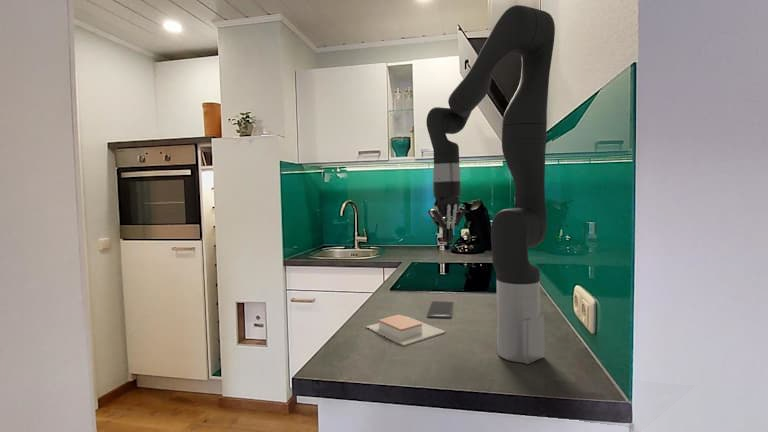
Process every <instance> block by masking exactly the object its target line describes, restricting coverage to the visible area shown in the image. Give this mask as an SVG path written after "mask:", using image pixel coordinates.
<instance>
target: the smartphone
mask: <svg viewBox="0 0 768 432" xmlns="http://www.w3.org/2000/svg"><path fill="white" fill-rule="evenodd" d="M453 308H454V302H453V301H441V300H440V301H437V300H435V301H434V300H433V301H431V303H430V305H429V308H428V311H427V314H426V317H427V318H431V319H432V318H435V319H436V318H437V319H451V318H452V316H453V314H452V313H453Z"/></svg>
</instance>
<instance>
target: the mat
mask: <svg viewBox="0 0 768 432" xmlns="http://www.w3.org/2000/svg"><path fill="white" fill-rule="evenodd" d="M403 316H404V317H407V318H409V319H412V320H414V321H417V322H420V323H422V333H420V334H417V335H413V336H410V337H407V338H404V339H400V338H398V337H396V336H393V335H391V334H389V333H387V332H385V331H383V330H381V329H379V322H378V323H374V324H370V325H367V326H365V327H367V328H366V329H368V328H369V329H368V330H369V331H370V330H371V331H372V332H375V334H378V335H380V336H382V337H384V336H385V337H384V338H386V339H389V340H391V341H392V342H394V343H396V344H398V345H401V346H403V347H405V346H408V345H411V344H412V345H413V344H415V343H417V342H421V341H423V340H424V341H425V340H427V339H430V338H434V337H437V336H439V335H442V334H446V330H443V329H441V328H437V327H435V326H433V325H430V324H427V323H425V322H422V321H419V320H417V319H414V318H413V317H409V316H407V315H403Z"/></svg>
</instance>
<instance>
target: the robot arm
mask: <svg viewBox="0 0 768 432" xmlns="http://www.w3.org/2000/svg"><path fill="white" fill-rule="evenodd" d="M555 26H556V25H555V21H554V18H553V16H552V15H551V14H550V13H549V12H547V11H545V10H541V9H538V8H536V7H535V8H534V7H530V6H527V5H519V4H516V5H511V6H510V7H509V8H507V9H506V10H505V11H504V12H503V13H502V15H501V16H500V17H499V19H498V20H497V22H496V23H495V25H494V27H493V28H492V30H491V31H490V34H489V36H488V37H487V39H486V41H485V43H484V44H483V46H482V48H481V49H480V51H479V54H478V55H477V56H476V59H475V60H474V62H473V64H472V66H471V67H470V69H469V71H468V72H467V74H466V75H465V76H464V78H462V80H461V81H460V83H459V84H458V85H457V86H456V87H455V88H454V90H452V92H451V93H450V95H449V97H448V106H449V107H444V106H436V107H435V106H434V107H432V108H431V109H430V110H429V111H428V114H427V115H426V116H427V117H426V129H427V131H428V135H429V138H430V142H431V146H432V149H433V170H432V175H433V176H432V178H433V179H432V181H433V182H432V185H433V187H432V188H433V192H432V193H433V197H434V198H435V201H434V204H433V205H434V207H432V209H428V211H427V214H428V215H429V217H430V218H431V220H432V222H433V223H434V225H435V226H436V228H441V230H442V234H441V236H442V241H443V242H444V243H452V242H453V241H454V229H455V227H459V225H460V223H461V222H462V219H463V217H464V215H465V213H466V210H467V209H466V207H463V206H461V202H460V199H459V198H460V197H461V195H462V194H461V191H462V190H461V185H462V184H461V182H462V181H461V167H460V147H459V144H458V143H456V142H454V141H451V140H449V138H448V137H447V134H449V135H454V134H455V135H456V134H458V133H459V132H461V131H462V130H463V129H464V128H465V126H466V125H467V122H468V120H469V117H470V115H471V114H472V111H474V109H475V108H477V106H478V105H479V104H480V103H481V102H482V101H483V100H484V99H485V97H486V96H487V94H488V93H489V90H490V88H491V84H492V78H493V73H494V71H495V68H496V67H497V66H498V64H499V63H500V62H502V60H503V59H504V58H506V57H507V56H508V55H509V54H510V55H511V54H512V55H516V56H520V57H521V71H520V80H519V83H518V84H519V85H518V87H517V90H516V91H515V93H514V94H513V97H512V98H511V99H510V101H509V104H508V105H507V107H506V109H505V111H504V114H503V117H502V121H501V122H502V124H501V126H502V127H501V151H502V154H503V158H504V160H505V163H506V165H507V168H508V170H509V172H510V174H511V177H512V180H513V184H514V207H513V208H505V209H502V210H500V211H498V212H497V213H496V214H495V215H494V217H493V219H492V222H491V228H490V243H491V258H492V266H493V267H494V270H495V273H496V276H495V277H496V335H497V336H496V338H497V339H496V340H497V345H496V346H497V349H496V350H497V354H498V356H500V358H503V359H504V360H507V361H511V362H514V363H523V364H526V365H529V364H532V363H534V362H535V361H536V362H537V361H538V360H540V359H543V358H545V316H544V315H543V314H541V283H540V282H541V281H540V280H541V278H540V277H541V274H540V273H541V272H540V269H539V267H538V266H537V265H533V264H531V262H530V260H529V253H528V249H531V248H536V247H537V246H539V245H540V244H541V243H543V240H544V239H545V237H546V234H547V229H548V226H547V225H548V221H547V219H548V218H547V207H546V206H547V205H546V188H545V185H546V184H545V183H546V182H545V181H546V178H545V176H546V149H547V134H548V133H547V131H548V130H547V129H548V119H547V118H548V113H547V112H548V100H549V99H548V97H549V84H550V73H551V67H552V60H553V58H552V57H553V53H554V46H555V45H554V44H555V36H556V35H555V34H556V27H555Z"/></svg>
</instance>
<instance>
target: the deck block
mask: <svg viewBox="0 0 768 432" xmlns="http://www.w3.org/2000/svg"><path fill="white" fill-rule="evenodd" d="M404 316H405V315H402V314H395V315H392V316H391V315H390V316H388V317H384V318H380V319H378V323H379V329H381V330H383V331H385V332H387V333H389V334H391V335H393V336H396V337H398V338H400V339H404V338H407V337H410V336H413V335H417V334H420V333H422V323H423V322H422V323H420V322H421V321H420V322H417V321H418V320H417V321H414V320H412V319H413V318H412V319H409V318H410V317H409V318H407V317H408V316H407V317H404Z"/></svg>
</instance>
